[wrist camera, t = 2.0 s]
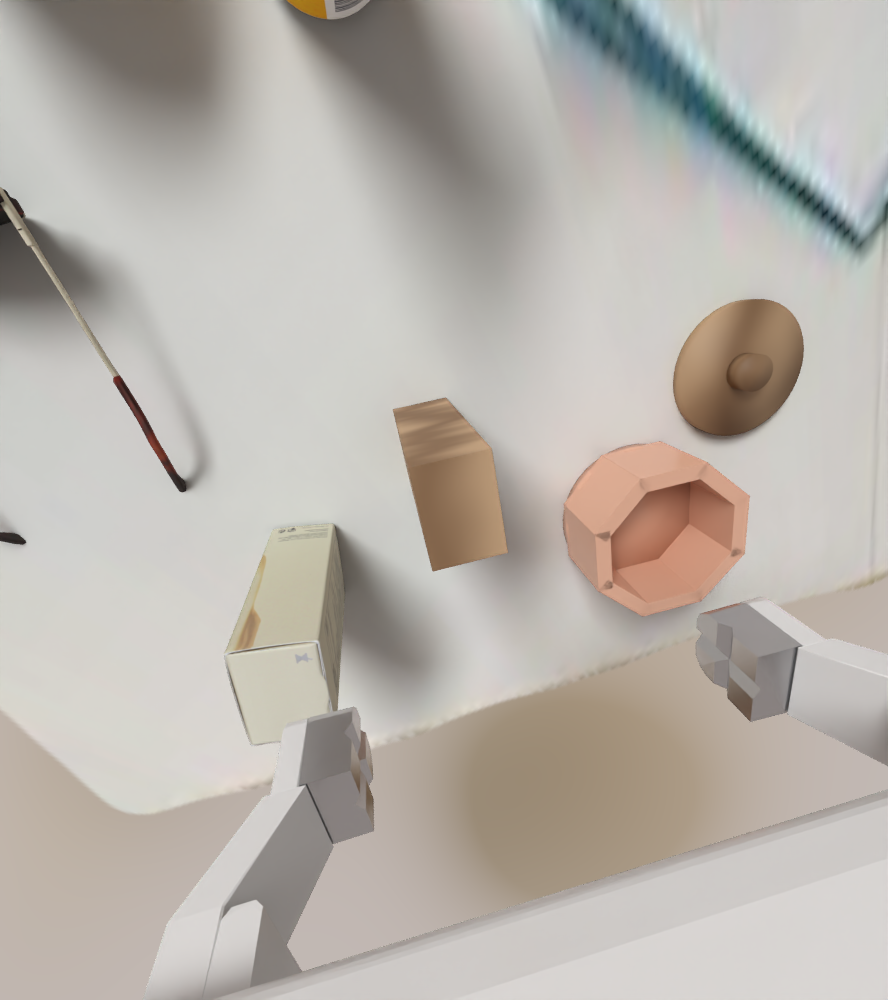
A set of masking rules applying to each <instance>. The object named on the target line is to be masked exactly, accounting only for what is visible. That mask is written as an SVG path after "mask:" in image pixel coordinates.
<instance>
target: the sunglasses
mask: <svg viewBox="0 0 888 1000" xmlns="http://www.w3.org/2000/svg"><path fill="white" fill-rule="evenodd" d="M25 216H26V215H25V214H24V211H23V210H22V208H21V206H20V205H19V203H18V201H17V200H16V199H14V198H11V197H10V196H9V194H8V193H7V191H6V190H4V189H2V188H1V187H0V225H2V224H6V223H9V222H13V224H14V226H15V227H16V229H17V230H18V232H19V233H20V235H21V236H22V238H23V240H24V241H25V243H26V244H27V246H30V247H31V248H32V249H33V251H34V252H35V254H36V256H37V257H38V259H39V260H40V262H41V263H42V265H43V267H44V268H45V270H46V271H47V273H48V274H49V276H50V277H51V279H52V281H53V282H54V284H55V285H56V287H57V288H58V290H59V292H60V293H61V295H62V296H63V298H64V299H65V301H66V302H67V304H68V306H69V307H70V309H71V310H72V312H73V314H74V315H75V317H76V318H77V320H78V322H79V323H80V325H81V326H82V328H83V330H84V331H85V333H86V334H87V336H88V338H89V339H90V341H91V342H92V344H93V346H94V347H95V349H96V350H97V352H98V354H99V355H100V357H101V358H102V360H103V362H104V363H105V365H106V366H107V368H108V369H109V371H110V372H111V374H112V376H113V377H114V378H113V382H114V384H115V385H116V387H117V388H118V390H119V392H120V393H121V395H122V396H123V398H124V399H125V401H126V403H127V404H128V406H129V407H130V409H131V411H132V412H133V414H134V416H135V417H136V419H137V421H138V422H139V424H140V426H141V428H142V430H143V432H144V434H145V436H146V438H147V440H148V441H149V443H150V445H151V447H152V448H153V450H154V451H155V453H156V454H157V456H158V458H159V459H160V461H161V463H162V464H163V466H164V468H165V469H166V471H167V473H168V474H169V476H170V477H171V479H172V481H173V482H174V484H175V485H176V487H177V488H178V490H179V491H180V492H185V491H186V486H185V482H184V480H183V479H182V478H181V477H180V476H179V475H178V474H177V472H176V471H175V469H174V467H173V465H172V464H171V462H170V460H169V459H168V457H167V455H166V453H165V452H164V450H163V448H162V447H161V445H160V443H159V442H158V440H157V438H156V436H155V434H154V432H153V430H152V428H151V426H150V424H149V422H148V420H147V419H146V417H145V415H144V413H143V412H142V410H141V408H140V406H139V405H138V403H137V402H136V400H135V398H134V397H133V395H132V394H131V392H130V390H129V389H128V387H127V386H126V384H125V382H124V381H123V379H122V378H121V377H120V375H119V374H118V372H117V371H116V369H115V368H114V366H113V365H112V364H111V362H110V360H109V359H108V357H107V356H106V354H105V352H104V351H103V349H102V348H101V346H100V344H99V343H98V341H97V340H96V338H95V336H94V335H93V333H92V332H91V330H90V328H89V327H88V325H87V324H86V322H85V320H84V319H83V317H82V316H81V314H80V312H79V311H78V309H77V308H76V306H75V304H74V303H73V301H72V300H71V298H70V296H69V295H68V293H67V292H66V290H65V288H64V287H63V285H62V284H61V282H60V280H59V279H58V277H57V276H56V274H55V273H54V271H53V269H52V268H51V266H50V265H49V263H48V261H47V260H46V258H45V257H44V255H43V253H42V252H41V250H40V248H39V247H38V244H37V243H36V241H35V239H34V238H33V236H32V235H31V233H30V231H29V230H28V228H27V227H26V225H25V224H24V222H23V220H22V219H24V218H25ZM0 541H3V542H8V543H14V544H24V543H26V541H25V540H24V539H23V538H22V537H21V536H20V535H18V534H15V533H3V532H0Z"/></svg>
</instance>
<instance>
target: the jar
mask: <svg viewBox="0 0 888 1000" xmlns="http://www.w3.org/2000/svg"><path fill="white" fill-rule="evenodd" d="M749 498H750V496H749V495H748V494H746V493H745V492H744V491H743V490H741V489H740V488H739V487H738V486H736V485H735V484H734V483H732V482H731V481H730V480H729V479H727V478H726V477H725V476H724V475H722V474H721V473H720V472H719V471H717V470H716V469H715V468H713V467H712V466H711V465H710V464H708V462H705V461H703V460H701V459H699V458H696V457H694V456H692V455H690V454H687V453H685V452H683V451H681V450H678V449H676V448H674V447H672V446H670V445H667V444H665V443H663V442H661V441H659V442H655V443H651V444H634V445H628V446H625V447H621V448H618V449H616V450H613V451H611V452H609V453H607V454H605V455H602V456H601V457H600V458H599V459H598V460H596V461H595V462H594V463H593V464H591V465H590V466H589V467H588V468H587V469H586V470H585V471H584V472H583V474H582V475H581V476H580V477H579V478H578V480H577V481H576V483H575V484H574V486H573V488H572V490H571V491H570V493H569V496H568V498H567V501H566V502H565V503H564V514H563V530H564V535H565V538H566V542H567V544H568V553H569V556H570V557H571V559H572V560H573V561H574V562H575V564H576V565H577V566H578V567H579V568H580V570H581V571H582V572H583V573H584V574H585V576H586V577H587V578H588V579H589V580H590V582H591V583H592V584H593V585H594V587H595V588H596V589H597V590H598V591H599V592H601V593H602V594H604V595H606V596H608V597H609V598H611V599H613V600H615V601H616V602H618V603H620V604H622V605H623V606H625V607H627V608H629V609H630V610H632V611H634V612H636V613H637V614H639V615H641V616H642V617H643V616H647V615H650V614H654V613H658V612H662V611H665V610H669V609H673V608H677V607H681V606H684V605H688V604H692V603H696V602H699V601H701V600H702V599H703V598H704V597H705V596H706V595H707V594H708V593H709V592H710V591H711V590H712V589H713V587H714V586H715V585H716V584H717V583H718V582H719V581H720V580H721V579H722V578H723V577H724V575H725V574H726V573H727V572H728V571H729V570H730V569H731V568H732V567H733V566H734V565H735V563H736V562H737V561H738V560H739V559H740V558H741V557H742V556H743V555H744V554H745V544H746V532H747V521H748V510H749Z"/></svg>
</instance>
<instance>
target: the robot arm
mask: <svg viewBox="0 0 888 1000" xmlns="http://www.w3.org/2000/svg"><path fill="white" fill-rule="evenodd" d="M697 629H698V630H699V631H700V632H701V633H702V635H701V636H700V638H699V639H698V640H697V642H696V656H697V659H698V662H699V664H700V666H701V668H702V670H703V671H704V673H705V674H706V676H707V677H708V678H709V679H710V680H711V681H712V682H713V683H714V684H717V685H719V686H721V687H724V688H727V696H728V699H729V700H730V701H731V702H732V703H733V704H734V705H735V706H736V707H737V708H738V709H739V710H740V711H741V712H742V713H743V715H744V716H745V717H746V718H747V719H748V720H749V721H750V722H751V721H755V720H759V719H763V718H766V717H771V716H775V715H778V714H782V713H786V712H788V713H787V714H788V715H790V716H792V717H793V718H795V719H797V720H799V721H801V722H803V723H805V724H807V725H809V726H811V727H813V728H815V729H817V730H819V731H821V732H823V733H824V734H827V735H829V736H830V737H832V738H835V739H836V740H838V741H840V742H842V743H844V744H846V745H848V746H850V747H852V748H854V749H856V750H858V751H859V752H861V753H863V754H865V755H867V756H869V757H871V758H873V759H875V760H877V761H879V762H881V763H883V764H885V765H887V766H888V654H885V653H882V652H879V651H875V650H872V649H868V648H865V647H862V646H858V645H854V644H851V643H848V642H845V641H841V640H837V639H834V638H831V639H827V640H826V639H825V638H823V637H822V636H820V635H819V634H817V633H816V632H815V631H813V630H812V629H810V628H809V627H807V626H806V625H805V624H803V623H802V622H800V621H799V620H797V619H796V618H794V617H793V616H792V615H790V614H789V613H787V612H786V611H784V610H783V609H782V608H780V607H779V606H777V605H776V604H774V603H773V602H772V601H770V600H769V599H766V598H763V597H758V598H755V599H751V600H748V601H744V602H741V603H739V604H734V605H730V606H726V607H723V608H719V609H716V610H712V611H708V612H705V613H701V614H700V615H699V617H698V618H697ZM372 780H373V765H372V758H371V750H370V746H369V742H368V739H367V736H366V733H365V732H363V731H361V729H360V716H359V713H358V711H357V708H356V707H351V708H346V709H342V710H338V711H334V712H330V713H326V714H321V715H317V716H313V717H310V718H307V719H303V720H299V721H294V722H290V723H287V724H286V726H285V728H284V729H283V733H282V738H281V743H280V748H279V753H278V758H277V764H276V769H275V774H274V779H273V784H272V789H271V794H270V795H268V796H264V797H263V798H262V799H261V800H260V802H259V803H258V804H257V806H256V807H255V808H254V810H253V811H252V812H251V814H250V815H249V816H248V818H247V819H246V820H245V822H244V823H243V824H242V825H241V827H240V828H239V829H238V831H237V832H236V834H235V835H234V836H233V837H232V839H231V840H230V841H229V843H228V844H227V845H226V847H225V848H224V849H223V851H222V852H221V853H220V854H219V856H218V857H217V858H216V860H215V861H214V862H213V864H212V865H211V866H210V868H209V869H208V870H207V872H206V873H205V874H204V876H203V877H202V878H201V880H200V881H199V882H198V884H197V885H196V886H195V887H194V889H193V890H192V891H191V893H190V894H189V895H188V897H187V898H186V899H185V901H184V902H183V903H182V905H181V906H180V907H179V909H178V910H177V911H176V912H175V914H174V915H173V917H172V918H171V919H170V920H169V922H168V923H167V926H166V929H165V932H164V935H163V938H162V942H161V945H160V948H159V951H158V954H157V957H156V960H155V963H154V966H153V969H152V973H151V975H150V978H149V982H148V985H147V988H146V991H145V994H144V997H143V1000H888V790H885V791H881V792H878V793H875V794H872V795H868V796H865V797H862V798H859V799H855V800H853V801H849V802H846V803H843V804H839V805H836V806H833V807H830V808H827V809H823V810H820V811H817V812H814V813H810V814H807V815H804V816H801V817H798V818H794V819H791V820H788V821H785V822H782V823H779V824H775V825H772V826H769V827H765V828H762V829H759V830H756V831H753V832H749V833H746V834H743V835H740V836H736V837H733V838H730V839H727V840H724V841H720V842H717V843H714V844H711V845H708V846H704V847H702V848H698V849H695V850H692V851H688V852H685V853H682V854H679V855H675V856H673V857H669V858H666V859H663V860H659V861H656V862H653V863H650V864H647V865H643V866H641V867H637V868H634V869H631V870H627V871H625V872H621V873H618V874H615V875H611V876H609V877H605V878H602V879H599V880H595V881H592V882H589V883H586V884H583V885H580V886H577V887H573V888H570V889H567V890H564V891H560V892H557V893H554V894H551V895H548V896H544V897H541V898H538V899H535V900H531V901H528V902H525V903H522V904H519V905H515V906H512V907H509V908H506V909H503V910H499V911H496V912H493V913H490V914H487V915H483V916H480V917H477V918H473V919H470V920H467V921H464V922H461V923H457V924H454V925H451V926H448V927H445V928H441V929H438V930H435V931H432V932H429V933H425V934H422V935H419V936H416V937H412V938H409V939H406V940H403V941H400V942H396V943H393V944H390V945H387V946H383V947H380V948H377V949H374V950H371V951H367V952H364V953H361V954H358V955H354V956H351V957H348V958H345V959H342V960H338V961H336V962H332V963H329V964H325V965H322V966H319V967H316V968H313V969H309V970H306V971H303V972H302V970H301V969H300V967H299V965H298V964H297V962H296V961H295V959H294V957H293V956H292V954H291V952H290V950H289V949H288V947H287V943H288V941H289V939H290V937H291V935H292V933H293V931H294V929H295V927H296V924H297V922H298V920H299V918H300V916H301V914H302V912H303V910H304V908H305V905H306V903H307V901H308V899H309V897H310V895H311V893H312V891H313V889H314V887H315V885H316V882H317V880H318V878H319V876H320V874H321V872H322V870H323V868H324V866H325V863H326V861H327V860H328V857H329V855H330V853H331V851H332V849H333V845H332V844H335V843H338V842H341V841H344V840H347V839H350V838H353V837H357V836H360V835H363V834H366V833H369V832H372V831H374V803H373V802H374V801H373V796H372V793H371V791H370V788H369V785H370V783H371V781H372Z"/></svg>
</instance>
